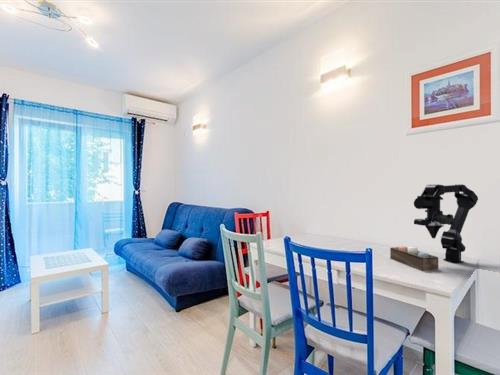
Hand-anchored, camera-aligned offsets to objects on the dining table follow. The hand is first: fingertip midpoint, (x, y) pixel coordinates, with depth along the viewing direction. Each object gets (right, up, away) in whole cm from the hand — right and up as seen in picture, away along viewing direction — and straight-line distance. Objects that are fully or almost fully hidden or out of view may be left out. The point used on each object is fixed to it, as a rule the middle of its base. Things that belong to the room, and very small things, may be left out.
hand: (433, 238), depth 138 cm
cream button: (-12, -9, -1) cm, 15 cm away
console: (-12, -13, -1) cm, 17 cm away
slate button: (-10, -11, -8) cm, 17 cm away
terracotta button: (-13, -11, +6) cm, 18 cm away
